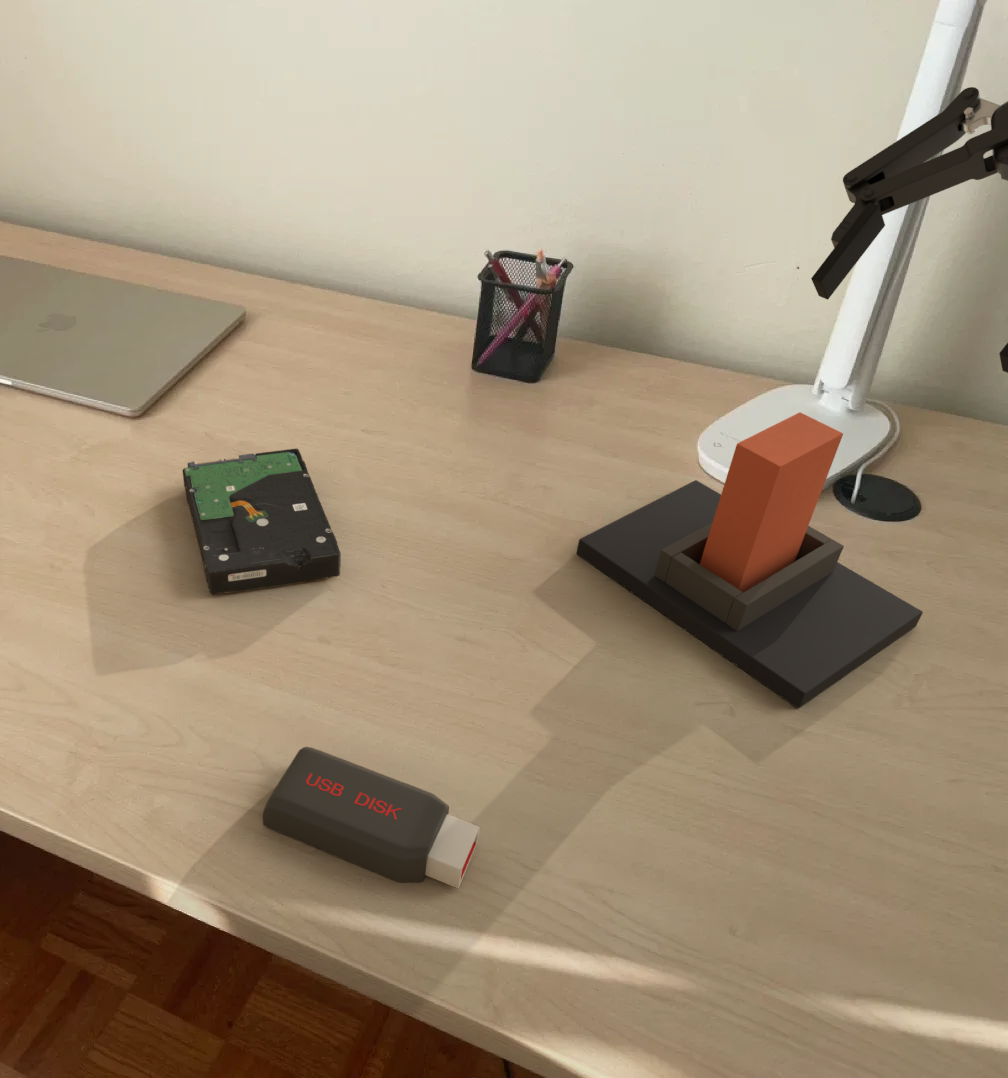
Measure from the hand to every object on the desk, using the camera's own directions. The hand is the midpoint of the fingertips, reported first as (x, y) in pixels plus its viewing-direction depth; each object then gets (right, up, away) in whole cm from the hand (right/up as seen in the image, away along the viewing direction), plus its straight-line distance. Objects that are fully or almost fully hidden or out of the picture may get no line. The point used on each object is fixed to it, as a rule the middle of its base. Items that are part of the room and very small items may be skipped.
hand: (907, 325), depth 73 cm
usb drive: (-38, -32, -10) cm, 51 cm away
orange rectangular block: (-9, -17, +6) cm, 20 cm away
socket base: (-9, -19, +7) cm, 22 cm away
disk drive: (-45, -14, +13) cm, 49 cm away
